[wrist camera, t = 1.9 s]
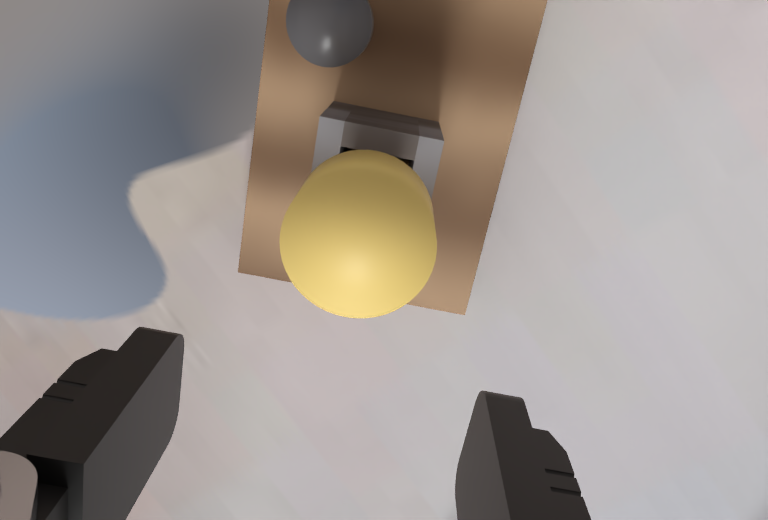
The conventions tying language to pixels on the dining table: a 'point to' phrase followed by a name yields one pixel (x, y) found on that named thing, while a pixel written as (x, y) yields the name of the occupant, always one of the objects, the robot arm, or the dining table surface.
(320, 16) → the pot post
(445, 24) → the mount
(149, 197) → the dining table surface
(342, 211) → the knob
